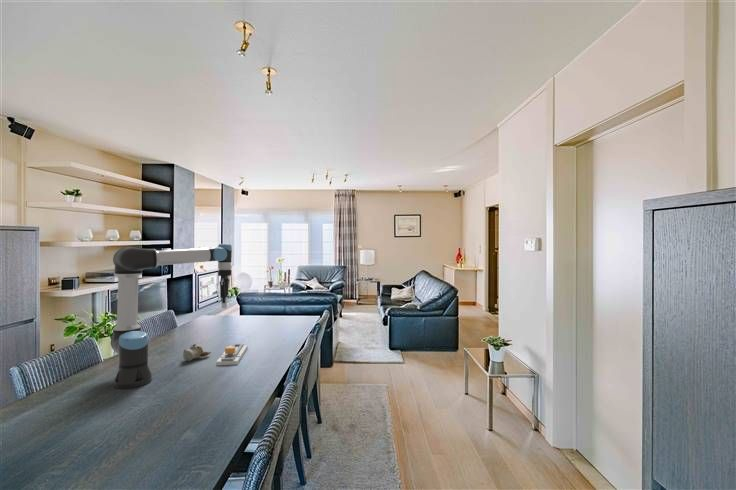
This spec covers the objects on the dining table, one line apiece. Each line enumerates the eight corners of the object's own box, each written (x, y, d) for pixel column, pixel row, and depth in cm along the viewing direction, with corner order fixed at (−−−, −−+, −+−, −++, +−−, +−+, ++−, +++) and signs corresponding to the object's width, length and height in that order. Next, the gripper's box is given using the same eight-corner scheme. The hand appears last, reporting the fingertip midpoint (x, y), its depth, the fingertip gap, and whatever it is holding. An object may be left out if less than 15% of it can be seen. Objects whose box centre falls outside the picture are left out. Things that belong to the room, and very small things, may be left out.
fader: (234, 356, 200) (234, 348, 200) (225, 357, 200) (225, 348, 200) (235, 355, 203) (235, 346, 203) (226, 355, 203) (226, 346, 203)
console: (237, 364, 194) (237, 358, 194) (216, 365, 193) (216, 359, 193) (247, 348, 224) (247, 343, 224) (229, 348, 222) (229, 343, 222)
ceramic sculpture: (177, 345, 199) (199, 340, 213) (176, 361, 198) (198, 355, 212) (191, 348, 195) (212, 342, 209) (190, 363, 195) (211, 357, 208)
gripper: (228, 270, 207) (227, 310, 207) (233, 268, 220) (233, 306, 220) (215, 270, 206) (214, 310, 206) (221, 268, 219) (220, 306, 219)
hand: (224, 308), depth 213 cm, fingers closed
